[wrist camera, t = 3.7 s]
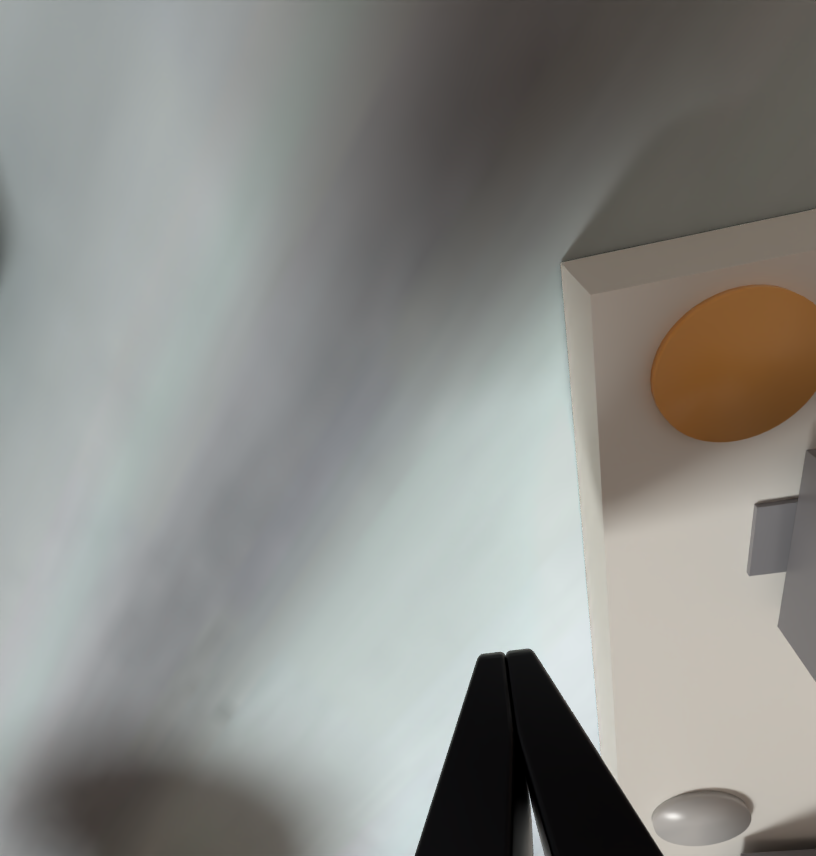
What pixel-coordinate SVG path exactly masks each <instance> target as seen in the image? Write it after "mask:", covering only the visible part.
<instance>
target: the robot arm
mask: <svg viewBox="0 0 816 856" xmlns="http://www.w3.org/2000/svg"><path fill="white" fill-rule="evenodd" d="M529 794H530V798H529ZM530 799H531V804H532V808H533V812H534V816H535V821H536V825H537V828H538V832H539V836H540V840H541V843H542V847H543V851H544V855H545V856H664V855H663V853H662V852H661V850H660V849H659V847H658V846H657V844H656V843H655V841H654V839H653V838H652V836H651V835H650V833H649V832H648V830H647V828H646V827H645V825H644V824H643V822H642V821H641V819H640V817H639V816H638V814H637V813H636V811H635V810H634V808H633V806H632V805H631V803H630V802H629V800H628V799H627V797H626V795H625V794H624V792H623V791H622V789H621V788H620V786H619V784H618V783H617V781H616V780H615V778H614V777H613V775H612V773H611V772H610V770H609V769H608V767H607V766H606V764H605V763H604V761H603V759H602V758H601V756H600V755H599V753H598V752H597V750H596V748H595V747H594V745H593V744H592V742H591V741H590V739H589V737H588V736H587V734H586V733H585V731H584V730H583V728H582V726H581V725H580V723H579V722H578V720H577V719H576V717H575V715H574V714H573V712H572V711H571V709H570V708H569V706H568V704H567V703H566V701H565V700H564V698H563V697H562V695H561V693H560V692H559V690H558V689H557V687H556V686H555V684H554V682H553V681H552V679H551V678H550V676H549V675H548V673H547V672H546V670H545V668H544V667H543V665H542V664H541V662H540V661H539V659H538V657H537V656H536V654H535V653H534V652H533V651H532V650H531V649H521V650H512V651H508V652H507V654H506V656H505V654H504V653H503V652H495V653H486V654H481V655H480V656H479V657H478V659H477V661H476V665H475V668H474V671H473V674H472V677H471V680H470V683H469V687H468V690H467V693H466V696H465V699H464V702H463V705H462V709H461V712H460V715H459V718H458V721H457V724H456V727H455V731H454V734H453V737H452V740H451V743H450V746H449V750H448V753H447V756H446V759H445V762H444V765H443V768H442V772H441V775H440V778H439V781H438V784H437V787H436V790H435V794H434V797H433V800H432V803H431V806H430V809H429V812H428V816H427V819H426V822H425V825H424V828H423V831H422V834H421V838H420V841H419V844H418V847H417V850H416V853H415V856H533V837H532V819H531V806H530Z"/></svg>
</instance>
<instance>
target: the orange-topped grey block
mask: <svg viewBox="0 0 816 856" xmlns="http://www.w3.org/2000/svg"><path fill="white" fill-rule="evenodd" d="M777 627H778V628H779V629H780V631H781V632H782V634H783V635H784V637H785V638H786V640H787V641H788V642H789V644H790V645H791V647H792V648H793V650H794V651H795V653H796V654H797V656H798V657H799V658H800V660H801V661H802V663H803V664H804V666H805V667H806V669H807V670H808V672H809V673H810V674H811V676H812V677H813V679H814V680H815V682H816V449H809V450H806V454H805V460H804V466H803V472H802V478H801V484H800V491H799V497H798V503H797V509H796V515H795V521H794V527H793V534H792V540H791V546H790V552H789V558H788V564H787V571H786V577H785V583H784V589H783V595H782V601H781V607H780V614H779V620H778V626H777Z"/></svg>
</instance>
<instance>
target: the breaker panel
mask: <svg viewBox="0 0 816 856" xmlns="http://www.w3.org/2000/svg"><path fill="white" fill-rule="evenodd" d="M561 275H562V288H563V300H564V312H565V324H566V337H567V349H568V361H569V373H570V386H571V398H572V410H573V422H574V435H575V447H576V459H577V471H578V483H579V496H580V508H581V520H582V532H583V545H584V557H585V569H586V581H587V594H588V606H589V618H590V630H591V643H592V655H593V667H594V679H595V692H596V704H597V716H598V728H599V740H600V753H601V758H602V759H603V761H604V763H605V764H606V766H607V767H608V769H609V770H610V772H611V773H612V775H613V777H614V778H615V780H616V781H617V783H618V784H619V786H620V788H621V789H622V791H623V792H624V794H625V795H626V797H627V799H628V800H629V802H630V803H631V805H632V806H633V808H634V810H635V811H636V813H637V814H638V816H639V817H640V819H641V821H642V822H643V824H644V825H645V827H646V828H647V830H648V832H649V833H650V835H651V836H652V838H653V839H654V841H655V843H656V844H657V846H658V847H659V849H660V850H661V852H662V853H663V855H664V856H740V853H756V852H773V851H790V850H807V849H816V682H815V680H814V679H813V677H812V676H811V674H810V673H809V672H808V670H807V669H806V667H805V666H804V664H803V663H802V661H801V660H800V658H799V657H798V656H797V654H796V653H795V651H794V650H793V648H792V647H791V645H790V644H789V642H788V641H787V640H786V638H785V637H784V635H783V634H782V632H781V631H780V629H779V628H778V627H777V626H778V620H779V614H780V607H781V601H782V595H783V589H784V583H785V577H786V571H787V564H788V558H789V552H790V546H791V540H792V534H793V527H794V521H795V515H796V509H797V503H798V497H799V491H800V484H801V478H802V472H803V466H804V460H805V454H806V450H809V449H816V209H813V210H808V211H803V212H799V213H794V214H789V215H784V216H780V217H775V218H770V219H765V220H760V221H756V222H751V223H746V224H741V225H737V226H732V227H727V228H722V229H718V230H713V231H708V232H703V233H699V234H694V235H689V236H684V237H680V238H675V239H670V240H665V241H661V242H656V243H651V244H646V245H642V246H637V247H632V248H627V249H622V250H618V251H613V252H608V253H603V254H599V255H594V256H589V257H584V258H580V259H575V260H570V261H565V262H561Z"/></svg>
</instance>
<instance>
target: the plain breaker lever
mask: <svg viewBox="0 0 816 856" xmlns="http://www.w3.org/2000/svg"><path fill="white" fill-rule="evenodd" d="M740 856H816V849H807V850H790V851H773V852H756V853H740Z"/></svg>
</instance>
